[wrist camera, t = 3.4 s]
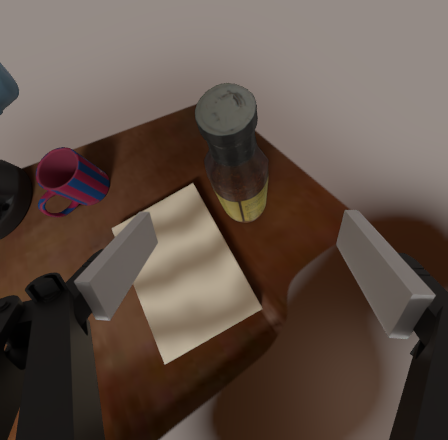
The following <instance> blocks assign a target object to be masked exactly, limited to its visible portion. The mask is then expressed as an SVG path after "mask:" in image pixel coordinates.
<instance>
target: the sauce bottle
mask: <svg viewBox="0 0 448 440" xmlns="http://www.w3.org/2000/svg"><path fill="white" fill-rule="evenodd" d="M195 119H196V122H197V125H198V128H199V131H200V133H201V135H202V136H203V138H204V139H205V140H206V141H207V143H208V146H209V151H208V153H207V155H206V157H205V159H204V164H205V168H206V172H207V176H208V178H209V180H210V182H211V184H212V187H213V189H214V191H215V193H216V195H217V197H218V198H219V200H220V202H221V204H222V206H223V208H224V209H225V211H226V213H227V214H228V215H229V216H230V217H231V218H232V219H234V220H236V221H239V222H243V223H248V222H251V221H254V220H255V219H257V218H258V217H259V216H260V215H261V214H262V212H263V210H264V208H265V205H266V197H267V186H268V161H269V160H268V158H267V157H266V156H265V155H264V153H263V152H262V151H261V149H260V148H259V147H258V146H257V143H256V137H255V128H256V125H257V119H258V118H257V105H256V101H255V98H254V96H253V94H252V93H251V92H249V91H248V90H247V89H246V88H244V87H242V86H239V85H237V84H230V83H224V84H220V85H217V86H215V87H213V88H211V89H210V90H208V91H207V92H206V93H205V94H204V95H203V96H202V97H201V98H200V100H199V101H198V103H197V106H196V109H195Z"/></svg>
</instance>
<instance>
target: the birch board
mask: <svg viewBox="0 0 448 440" xmlns="http://www.w3.org/2000/svg"><path fill="white" fill-rule="evenodd" d="M142 212H150V215H151V219H152V223H153V226H154V230H155V234H156V237H157V241H158V244H157V245H156V247H155V249H154V250H153V252H152V253H151V255H150V257H149V258H148V260H147V261H146V263H145V265H144V266H143V268H142V270H141V271H140V273H139V274H138V276H137V278H136V279H135V281H134V282H133V285H134V287H135V290H136V292H137V295H138V297H139V300H140V302H141V305H142V308H143V310H144V313H145V315H146V318H147V320H148V323H149V325H150V328H151V330H152V333H153V336H154V338H155V341H156V343H157V346H158V348H159V351H160V353H161V356H162V359H163V361H164V364H167V363H169V362H170V361H172V360H174V359H176V358H177V357H179V356H181V355H183V354H184V353H186V352H188V351H189V350H191V349H193V348H195V347H196V346H198V345H200V344H202V343H203V342H205V341H207V340H209V339H210V338H212V337H214V336H216V335H217V334H219V333H221V332H223V331H224V330H226V329H228V328H230V327H231V326H233V325H235V324H237V323H238V322H240V321H242V320H244V319H245V318H247V317H249V316H251V315H252V314H254V313H256V312H257V311H259V310H261V309H262V306H261V304H260V303H259V301H258V299H257V297H256V295H255V294H254V292H253V290H252V288H251V286H250V285H249V283H248V281H247V279H246V277H245V275H244V274H243V272H242V270H241V268H240V266H239V265H238V263H237V261H236V259H235V257H234V256H233V254H232V252H231V250H230V248H229V247H228V245H227V243H226V241H225V239H224V238H223V236H222V234H221V232H220V230H219V229H218V227H217V225H216V223H215V221H214V220H213V218H212V216H211V214H210V212H209V211H208V209H207V207H206V205H205V203H204V202H203V200H202V198H201V196H200V194H199V193H198V191H197V189H196V187H195V186H194V184H193V183H192V184H190V185H189V186H187V187H185V188H183V189H182V190H180V191H178V192H176V193H174V194H173V195H171V196H169V197H167V198H165V199H164V200H162V201H160V202H158V203H157V204H155V205H153V206H151V207H149V208H148V209H146V210H144V211H142ZM135 216H136V215H135ZM135 216H133V217H132V218H130V219H128V220H126V221H124V222H123V223H121V224H119V225H117V226H115V227H114V228H112V231H113V234H114V236H115V237H116V236H117V235H118V234H119V233H120V232H121V231H122V230H123V229H124V228H125V227H126V225H127V224H128V223H129V222H130V221H131V220H132V219H133V218H134V217H135Z"/></svg>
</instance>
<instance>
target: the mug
mask: <svg viewBox="0 0 448 440" xmlns="http://www.w3.org/2000/svg"><path fill="white" fill-rule="evenodd" d="M36 180H37V182H38V184H39V185H40V186H41V187H42V188H44V189H46V190H47V192H46V193H45V194H44V195H43V196H42V197H41V199H40V200H39V203H38V208H39V210H40V211H41V212H43V213H44V214H46V215H48V216H51V217H63V216H66V215H68V214H69V213H71V212H72V211H73V210H74V209H75V208H76V207H77V206H78V205H79V204H82V205H93V204H96V203H98V202H99V201H101V200H102V199H103V198H104V197H105V195H106V194H107V192H108V190H109V185H110V182H109V177H108V176H107V174H106V173H105V172H104V171H102V170H101V169H99V168H98V167H97V166H95V165H94V164H92V163H91V162H89V161H88V160H87V159H85V158H84V157H82V156H81V155H79V154H78V153H77V152H75V151H74V150H72V149H70V148H65V147H62V148H57V149H54V150H52V151H50V152H49V153H47V154H46V155H45V156H44V157H43V158H42V159H41V161H40V162H39V164H38V167H37V170H36ZM55 195H60V196H62V197H65V198H67V199H70V200H72V203H71V204H70V206H69V207H68V208H67V209H65V210H64V211H62V212H59V213H50V212H48V211H47V210H46V209H45V204H46V202H47V201H48V199H50V198H51V197H53V196H55Z"/></svg>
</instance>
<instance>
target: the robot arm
mask: <svg viewBox="0 0 448 440" xmlns="http://www.w3.org/2000/svg"><path fill="white" fill-rule="evenodd" d="M18 95H19V89H18V85H17V83H16V82H15V80H14V79H13V77H12V76H11V75H10V74H9V72H8V71H7V70H6V69H5V67H3V65H2V64H1V63H0V115H1V114H2V113H3V110H4V109H5V108H6V107H7V106H8V105H10V104H11V103H12V102H13V101H14V100H15V99H16V98H17V97H18ZM31 194H32V188H31V182H30V179H29V177H28V175H27V174H26V173H25V172H24V171H23V170H22V169H21V168H19V167H17V166H15V165H13V164H11V163H8V162H6V161H3V160H0V239H2V238H3V237H5V236H6V235H8V234H9V233H10V232H11V231H13V230H14V229H15V228H16V226H17V225H18V224H19V223H20V222H21V220H22V219H23V217H24V216H25V214H26V212H27V210H28V207H29V204H30V200H31ZM157 244H158V241H157V237H156V234H155V230H154V226H153V223H152V219H151V215H150V212H139V213H138V214H137V215H136V216H135V217H134V218H133V219H132V220H131V221H130V222H129V223H128V224H127V225H126V227H125V228H124V229H123V230H122V231H121V232H120V233H119V234H118V235H117V236H116V237H115V238H114V239H113V240H112V241H111V242H110V244H109V245H108V246H107V247H106V248H105V249H101V250H99V251H98V252H96V253H95V254H93V255H92V256H91V257H90V258H89V259H88V260H87V262H85V263H84V264H83V265H82V267H80V268H79V269H78V270H77V272H76V273H75V274H74V275H73V276H72V277H71V278H70V279H69V280H68V281H67V282H66V283H65V282H64V280H63V279H62V277H61V276H60V274H58V273H49V274H45V275H42V276H40V277H38V278H36V279H35V280H33V281H32V282H31V283H30V284H29V285H28V286H27V287H26V289H25V291H26V293H27V294H28V295H29V297H30V298H31V299H32V300H30V301H25V302H22V301H21V300H20V298H19V297H18V296H15V295H12V296H7V297H4V298H1V299H0V440H7V439H8V437H9V434H10V431H11V429H12V426H13V423H14V421H15V418H16V415H17V413H18V410H19V407H20V411H19V418H18V425H17V433H16V440H105V437H104V429H103V421H102V414H101V406H100V398H99V390H98V383H97V375H96V367H95V360H94V352H93V344H92V337H91V329H90V323H89V321H88V319H87V318H88V317H89V316H90V314H91V313H93V315H94V317H95V318H96V320H111V318H112V316H113V315H114V313H115V312H116V310H117V308H118V307H119V305H120V303H121V302H122V300H123V299H124V297H125V295H126V294H127V292H128V291H129V289H130V287H131V286H132V284H133V282H134V281H135V279H136V278H137V276H138V274H139V273H140V271H141V270H142V268H143V266H144V265H145V263H146V261H147V260H148V258H149V257H150V255H151V253H152V252H153V250H154V249H155V247H156V245H157ZM336 245H337V247H338V249H339V251H340V252H341V254H342V256H343V258H344V260H345V261H346V263H347V265H348V267H349V268H350V270H351V272H352V274H353V275H354V277H355V279H356V280H357V282H358V284H359V286H360V288H361V290H362V291H363V293H364V295H365V297H366V299H367V300H368V302H369V304H370V306H371V307H372V309H373V311H374V313H375V315H376V316H377V318H378V320H379V322H380V323H381V325H382V327H383V329H384V330H385V332H386V334H387V336H388V337H389V338H402V339H408V338H409V336H410V335H411V333H412V332H413V330H414V331H415V333H416V334H417V336H418V337H419V341H418V342H417V344H416V345H415V347H414V348H413V350H412V351H411V353H410V354H411V355H412V356H413V358H412V361H411V365H410V368H409V372H408V376H407V379H406V382H405V386H404V389H403V393H402V396H401V400H400V403H399V407H398V410H397V414H396V417H395V421H394V424H393V428H392V431H391V435H390V439H389V440H448V292H447V291H446V290H445V289H444V288H443V287H442V286H441V285H440V284H439V283H438V282H437V281H436V280H435V279H434V278H433V277H431V276H430V274H429V273H428V272H427V271H426V270H424V268H423V267H422V266H421V265H420V264H419V263H418V262H417V261H416V260H415V259H413V258H412V257H410V256H408V255H407V254H405V253H397V252H396V251H395V250H394V249H393V248H392V247H391V246H390V245H389V244H388V242H387V241H386V240H385V239H384V238H383V237H382V236H381V235H380V234H379V233H378V232H377V230H376V229H375V228H374V227H373V226H372V225H371V224H370V223H369V222H368V221H367V220H366V218H365V217H364V216H363V215H362V214H361V213H360V212H359V211H358V210H345V212H344V216H343V220H342V224H341V228H340V232H339V236H338V240H337V244H336ZM5 344H7V347H6V349H5V351H4V347H5Z"/></svg>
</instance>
